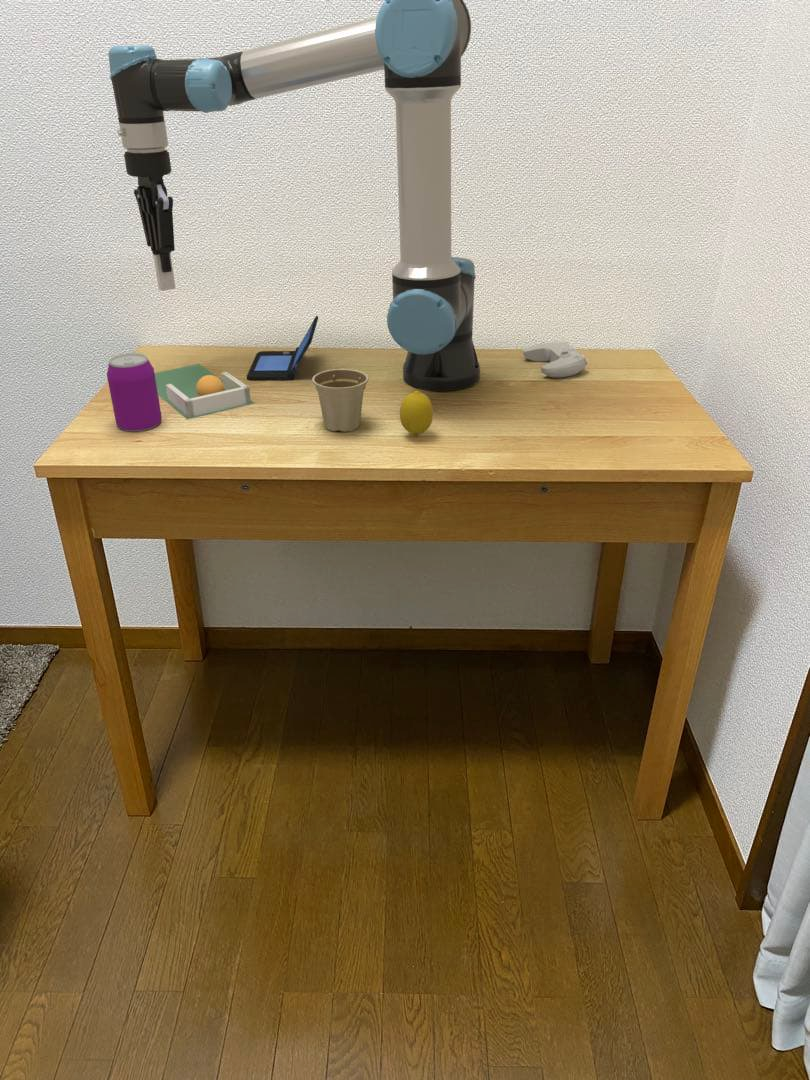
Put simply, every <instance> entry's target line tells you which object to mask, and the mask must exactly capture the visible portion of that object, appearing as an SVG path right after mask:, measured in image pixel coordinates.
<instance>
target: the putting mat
mask: <svg viewBox="0 0 810 1080" xmlns="http://www.w3.org/2000/svg"><path fill="white" fill-rule="evenodd" d="M154 373H155V379H156V385H157V391H158V397H160V398H161V399H163V400H164V402H166V403H167V404H168V405H170V407H172V408H173V409H174V410H175V411H176V412H178V413H179V414H180V415H181V416H183V417H184V418H185V419H186V420H191V419H196V418H200V417H203V416H208V415H209V416H210V415H212V414H216V413H221V412H225V411H230V410H234V409H239V408H241V407H246V406H251V405H255V402H254V401H252V400H251V403H249V404H245V405H241V406H236V407H232V408H228V409H224V410H219V411H215V412H211V413H207V414H203V415H198V416H194V417H190V418H189V417H187V416H186V415H185V414H184V413H183V412H181V411H180V410H179V409H178V408H177V407H175V406H174V405H173V404H172V403H171V402H170V401H168V397H167V390H166V385H167V384H172V385H173V386H174V387H176V388H177V389H178V390H179V391H181V392H182V393H183V394H184V395H186V396H187V397H188V398H189V399H191V398H195V397H199V396H198V395H197V392H196V385H197V382H198V381H199V380H200V379H201V378H202V377H204V376H206V375H213V376H216V377H217V378H219V379H220V380H221V381H222V379H221V378H220V377H218V376H217V375H216V374H214V373H213V372H211V371H210V370H209V369H207V368H205V366H202V364H199V363H197V364H192V365H191V364H190V365H188V366H187V365H186V366H182V367H177V368H172V369H168V370H167V369H166V370H163V371H158V372H154ZM222 383H223V381H222ZM224 391H226V389H224Z"/></svg>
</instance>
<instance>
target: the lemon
mask: <svg viewBox="0 0 810 1080" xmlns="http://www.w3.org/2000/svg"><path fill="white" fill-rule="evenodd" d="M399 417H400V418H399V419H400V423H401V426H402V427H403V428H404V429H405V431H406V432H408V433H409V434H412V435H414V437H418V436H419V435H420V434H423V433H425V432H426V431H428V429H429V428H430V427H431V425H432V423H433V420H434V407H433V404H432V402H431V399H430V398H429V397H428V396H427V395H426V394H425V393H422V392H420V391H419V390H414V391H413V392H411V393H409V394H408V395H406V396H405V397H404V398H403V399H402V401H401V404H400V409H399Z"/></svg>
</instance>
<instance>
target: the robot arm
mask: <svg viewBox="0 0 810 1080" xmlns="http://www.w3.org/2000/svg"><path fill="white" fill-rule="evenodd" d="M471 33H472V20H471V15H470V12H469V9H468V7H467V5H466V3H465V2H464V0H384V1H383V3H382V4H381V5H380V8H379V9H378V13H377V16H376V17H373V18H367V19H365V20H360V21H356V22H355V21H354V22H351V23H348V24H343V25H340V26H337V27H333V28H328V29H325V30H321V31H316V32H313V33H309V34H306V35H301V36H297V37H294V38H288V39H286V40H281V41H276V42H274V43H271V44H265V45H262V46H258V47H253V48H250V49H246V50H242V51H237V52H233V53H230V54H226V55H221V56H218V57H205V58H202V57H201V58H187V59H186V58H185V59H182V58H181V59H180V58H179V59H162V58H161V59H160V58H158V57H157V55H156V51H155V49H154V47H152V45H114V46H112V47H111V48H109V50H108V63H109V73H110V75H109V78H110V80H111V84H112V91H113V95H114V100H115V101H114V102H115V106H116V111H117V118H118V119H117V120H118V125H119V129H118V130H117V131H116V133H117V134H118V136H119V137H121V143H122V148H124V149H125V150H126V151H125V152H124V153H123V157H124V164H125V170H126V174H127V175H129V176H130V177H136V178H137V185H138V186H137V187H136V188H137V189H134V190H133V194H134V197H135V199H136V202H137V206H138V210H139V211H138V212H139V214H140V220H141V225H142V227H143V232H144V236H145V241H146V245H147V247H149V248H150V250H151V252H152V256H153V261H154V268H155V274H156V280H157V286H158V290H159V291H161V292H164V291H170V290H176V283H175V282H176V281H175V276H174V270H173V269H174V268H173V261H172V257H171V256H172V254H171V253H172V252H175V250H176V249H175V248H176V247H175V233H174V231H175V230H174V216H173V206H174V198H173V196H168V190H167V187H166V184H165V182H164V176H165V175H166V176H167V175H170V174H171V173H172V163H171V157H170V152H169V151H168V150H167V149H166V148H168V145H169V142H168V140H169V139H168V133H167V127H166V125H167V124H166V121H165V115H164V114H165V113H164V112H170V111H171V112H198V113H199V112H202V113H205V114H208V113H214V112H222V111H225V110H226V109H228V106H229V107H231V106H236V105H240V104H243V103H245V102H249V101H250V102H251V101H254V100H257V99H262V98H267V97H270V96H274V95H275V96H276V95H279V94H283V93H288V92H292V91H296V90H301V89H304V88H309V87H313V86H318V85H322V84H327V83H332V82H336V81H340V80H343V79H344V80H345V79H348V78H349V79H350V78H353V77H358V76H362V75H367V74H370V73H375V72H379V71H383V72H384V73H383V74H384V90H385V91H386V92H387V93H388V94H389V95H390V96H391V98H393V101H394V103H395V127H396V128H395V129H396V132H395V133H396V154H397V155H396V156H397V158H396V159H397V160H396V161H397V165H396V166H397V189H398V190H397V191H398V192H397V193H398V218H399V219H398V220H399V222H398V223H399V225H398V226H399V249H400V250H399V251H400V254H399V255H400V260H399V261H398V263H397V264H396V265H395V266H394V267H393V269H392V271H391V276H392V277H391V278H392V280H391V281H392V301H391V302H390V304H389V308H388V309H387V313H386V314H387V315H386V323H387V329H388V332H389V334H390V336H391V338H392V339H393V340H394V342H395V343H396V344H398V346H400V347H401V348H402V349H403V350H405V351H407V354H406V358H405V361H404V363H403V366H402V379H403V381H404V383H406V384H408V385H410V386H411V387H413V388H417V389H422V390H426V391H434V392H436V391H437V392H438V391H439V392H449V391H450V392H451V391H457V390H458V391H459V390H464V389H467V388H469V387H472V386H474V385H476V384H478V383H479V382H480V379H481V366H480V363H479V359H478V356H477V352H476V347H475V345H474V341H473V331H474V329H473V327H474V305H475V304H474V303H475V301H474V299H475V281H476V278H477V277H476V271H475V268H476V267H475V263H474V262H473V260H471V259H469V258H466V257H459V256H452V99H453V97H454V96H455V94H456V93H458V91H459V90H460V89H461V87H462V85H461V83H462V57H463V55H464V54H465V53H466V50H467V48H468V46H469V43H470V41H471Z"/></svg>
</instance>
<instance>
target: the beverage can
mask: <svg viewBox="0 0 810 1080" xmlns="http://www.w3.org/2000/svg"><path fill="white" fill-rule="evenodd" d="M155 373H156V372H155V369H154V367H153V365H152V364H151V361H150V360H149V358H148V356H147V354H144V353H138V352H129V353H121V354H117V355H115V356H112V357H110V358H109V360H108V367H107V372H106V377H107V383H108V389H109V395H110V399H111V404H112V409H113V414H114V420H115V424H116V425H117V427H118V428H119V429H121V430H123V431H125V432H126V431H127V432H144V431H148V430H152V429H154V428H156V427H158V426H159V425H160V424H161V422H162V410H161V404H160V398H159V397H160V396H159V395H158V391H157V385H156V379H155Z"/></svg>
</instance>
